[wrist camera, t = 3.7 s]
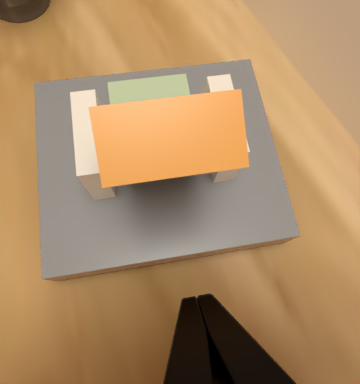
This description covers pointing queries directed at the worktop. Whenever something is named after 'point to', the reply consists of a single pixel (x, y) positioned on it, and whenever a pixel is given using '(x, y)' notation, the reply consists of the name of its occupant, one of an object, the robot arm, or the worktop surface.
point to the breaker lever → (169, 137)
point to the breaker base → (152, 190)
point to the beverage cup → (22, 9)
